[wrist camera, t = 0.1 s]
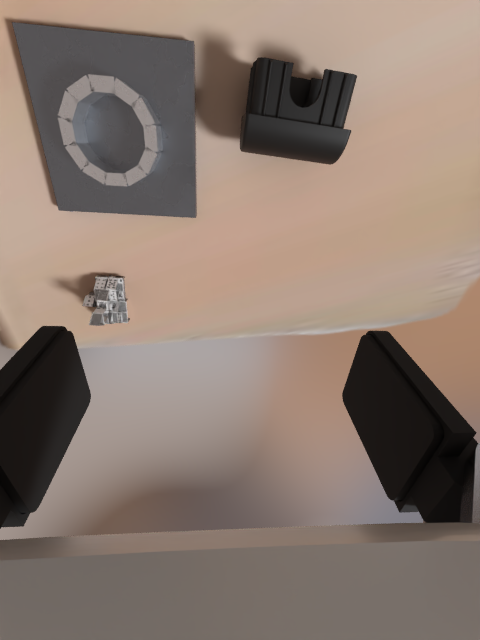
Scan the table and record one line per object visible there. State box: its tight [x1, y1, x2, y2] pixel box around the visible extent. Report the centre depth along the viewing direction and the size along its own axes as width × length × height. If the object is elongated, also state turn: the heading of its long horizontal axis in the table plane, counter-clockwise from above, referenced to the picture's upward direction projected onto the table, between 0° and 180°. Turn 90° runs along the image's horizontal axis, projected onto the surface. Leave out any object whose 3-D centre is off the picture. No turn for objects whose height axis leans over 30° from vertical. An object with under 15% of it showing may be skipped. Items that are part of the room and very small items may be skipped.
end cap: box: [240, 57, 357, 164], centre depth 29 cm, size 10×7×7 cm
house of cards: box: [82, 275, 130, 326], centre depth 39 cm, size 9×9×8 cm
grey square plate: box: [12, 22, 197, 218], centre depth 30 cm, size 16×16×4 cm
